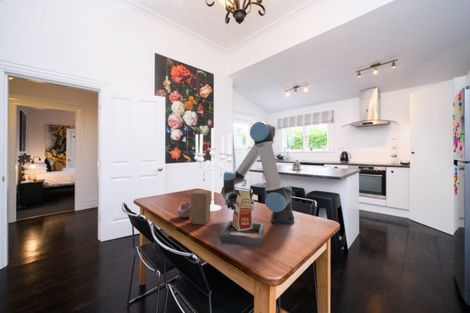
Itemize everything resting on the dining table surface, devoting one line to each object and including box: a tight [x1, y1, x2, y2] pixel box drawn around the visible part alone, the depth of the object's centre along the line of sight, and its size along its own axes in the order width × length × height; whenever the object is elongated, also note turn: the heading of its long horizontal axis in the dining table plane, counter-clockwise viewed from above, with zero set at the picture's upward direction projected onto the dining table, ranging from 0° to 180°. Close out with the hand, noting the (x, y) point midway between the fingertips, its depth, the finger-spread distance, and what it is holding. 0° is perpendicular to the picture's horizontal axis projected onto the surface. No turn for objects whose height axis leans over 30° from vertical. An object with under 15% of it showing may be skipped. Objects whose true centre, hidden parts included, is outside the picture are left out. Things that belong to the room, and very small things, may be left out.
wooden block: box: [190, 189, 211, 226], centre depth 125 cm, size 10×10×20 cm
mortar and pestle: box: [175, 200, 191, 219], centre depth 134 cm, size 12×12×12 cm
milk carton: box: [232, 190, 253, 232], centre depth 104 cm, size 9×9×20 cm
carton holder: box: [220, 220, 265, 248], centre depth 104 cm, size 20×20×4 cm
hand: (245, 209), depth 99 cm, fingers closed on milk carton, 8 cm apart
